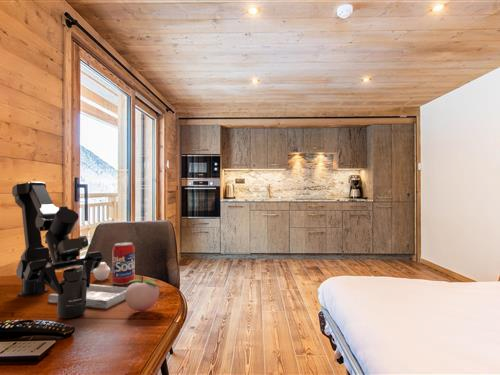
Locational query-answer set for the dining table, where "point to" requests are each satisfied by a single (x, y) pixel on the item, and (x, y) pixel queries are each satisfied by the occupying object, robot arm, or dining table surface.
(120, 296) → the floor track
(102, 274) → the small white vase
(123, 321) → the dining table surface
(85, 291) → the supplement bottle
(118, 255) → the soda can
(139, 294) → the decorative fruit
